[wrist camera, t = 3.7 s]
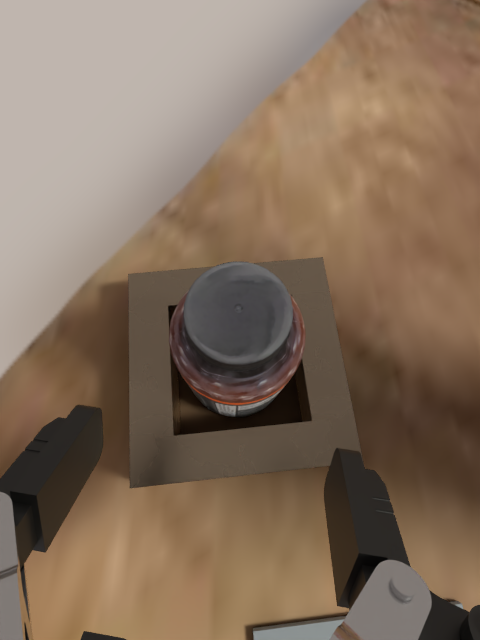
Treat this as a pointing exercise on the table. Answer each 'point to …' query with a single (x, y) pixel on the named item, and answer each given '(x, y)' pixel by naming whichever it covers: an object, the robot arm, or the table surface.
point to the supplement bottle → (237, 338)
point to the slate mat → (304, 629)
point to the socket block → (238, 444)
